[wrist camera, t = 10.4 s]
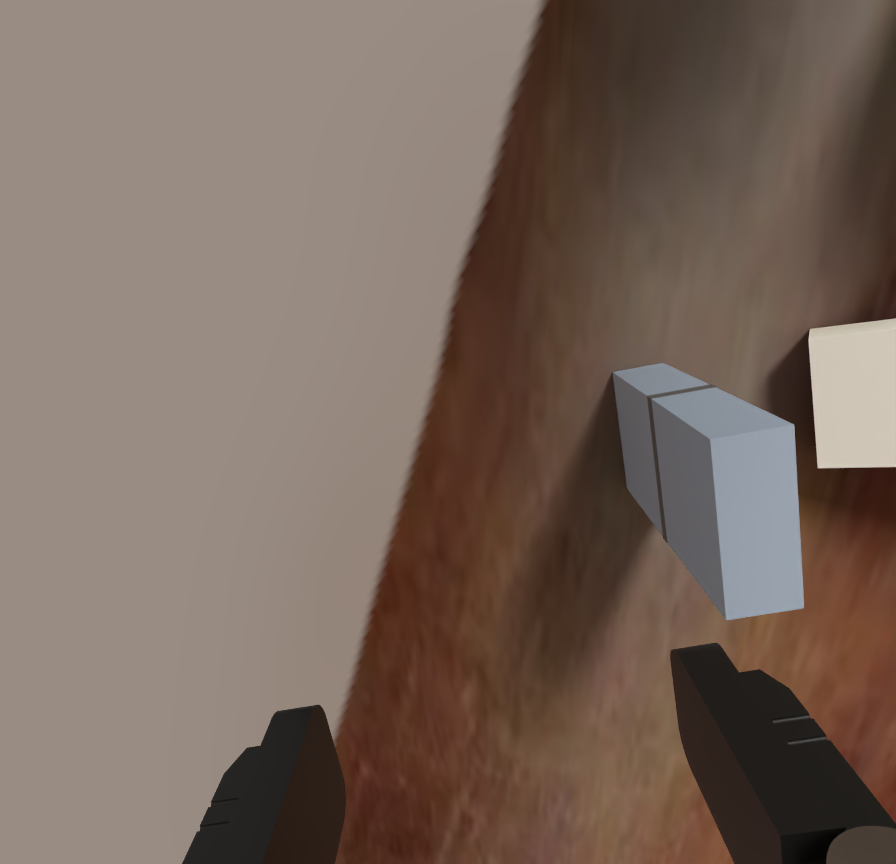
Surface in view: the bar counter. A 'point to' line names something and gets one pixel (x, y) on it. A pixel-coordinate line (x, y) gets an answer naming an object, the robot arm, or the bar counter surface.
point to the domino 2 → (854, 394)
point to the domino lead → (715, 486)
